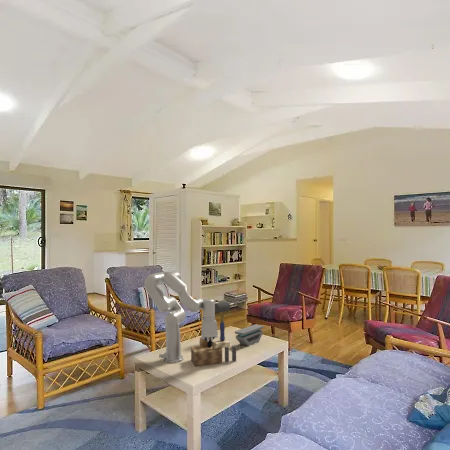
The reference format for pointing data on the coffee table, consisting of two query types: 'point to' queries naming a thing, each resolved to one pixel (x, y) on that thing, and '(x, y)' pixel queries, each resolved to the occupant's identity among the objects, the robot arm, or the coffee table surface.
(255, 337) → the sharpening stone
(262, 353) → the coffee table surface
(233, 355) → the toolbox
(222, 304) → the rubber mallet
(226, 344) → the pale wooden bar
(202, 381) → the coffee table surface
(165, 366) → the coffee table surface
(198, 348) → the lid
